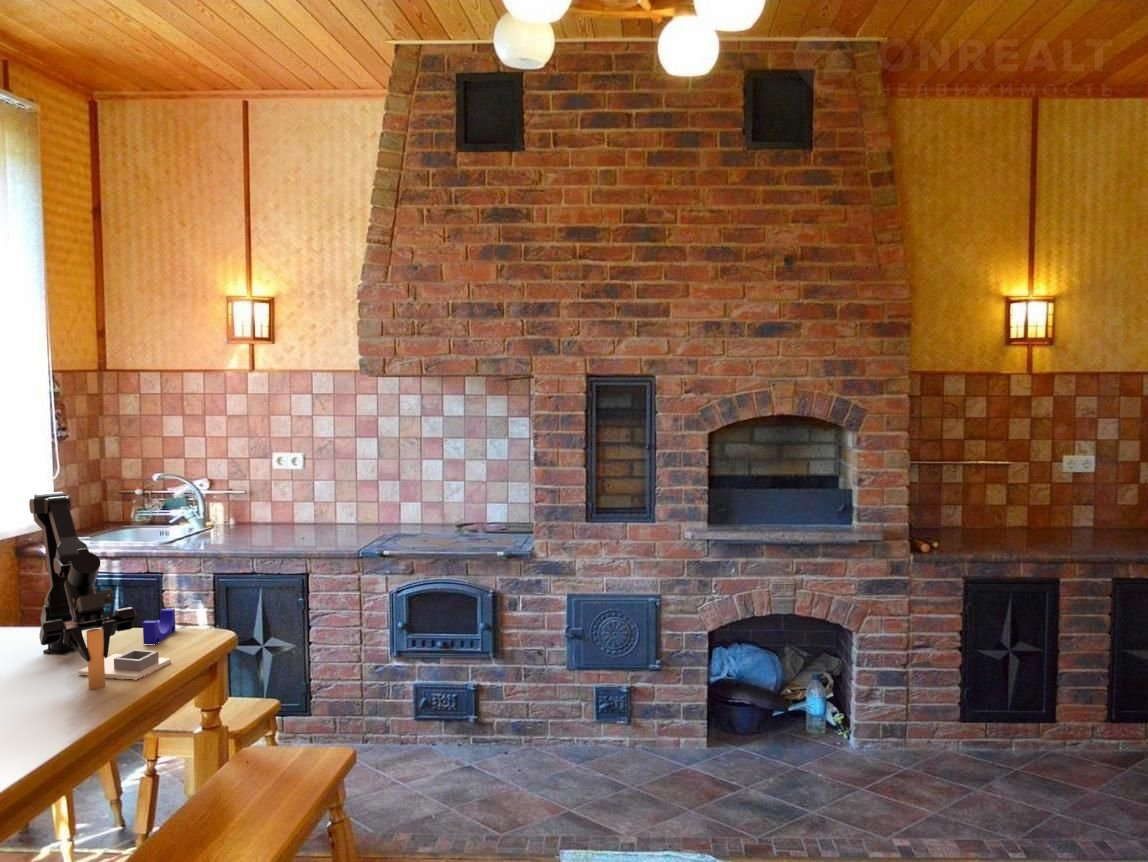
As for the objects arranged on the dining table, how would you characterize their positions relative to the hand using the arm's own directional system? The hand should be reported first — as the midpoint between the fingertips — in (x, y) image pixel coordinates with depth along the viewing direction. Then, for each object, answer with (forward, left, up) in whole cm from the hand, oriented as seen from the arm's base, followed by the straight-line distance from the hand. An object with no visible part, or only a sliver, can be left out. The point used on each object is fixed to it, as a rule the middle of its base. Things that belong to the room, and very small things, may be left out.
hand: (97, 658), depth 201 cm
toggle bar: (-1, +1, -7) cm, 7 cm away
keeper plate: (-3, +12, -7) cm, 14 cm away
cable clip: (-10, +33, -7) cm, 36 cm away
